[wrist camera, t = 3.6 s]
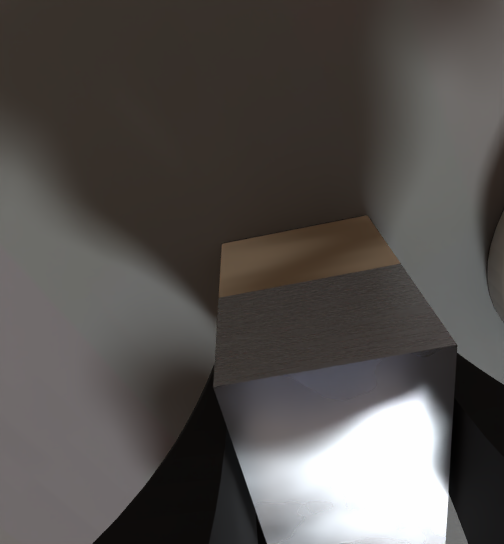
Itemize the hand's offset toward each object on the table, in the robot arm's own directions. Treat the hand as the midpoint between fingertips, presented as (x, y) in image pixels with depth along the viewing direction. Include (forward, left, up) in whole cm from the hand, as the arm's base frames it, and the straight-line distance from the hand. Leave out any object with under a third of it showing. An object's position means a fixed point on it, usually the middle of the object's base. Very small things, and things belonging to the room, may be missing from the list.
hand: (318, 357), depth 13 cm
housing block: (0, 0, -2) cm, 2 cm away
